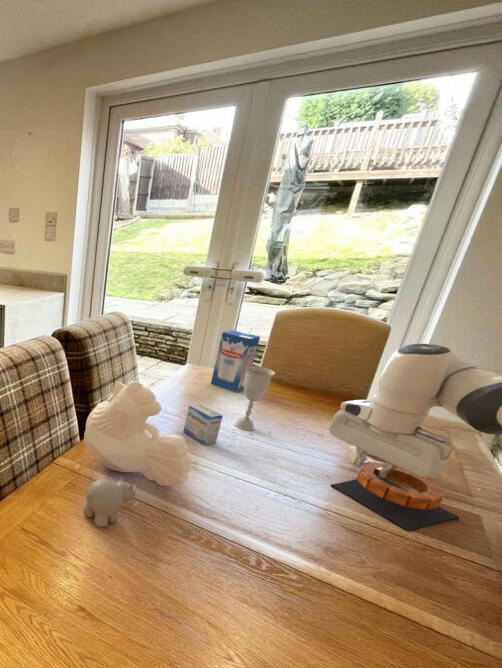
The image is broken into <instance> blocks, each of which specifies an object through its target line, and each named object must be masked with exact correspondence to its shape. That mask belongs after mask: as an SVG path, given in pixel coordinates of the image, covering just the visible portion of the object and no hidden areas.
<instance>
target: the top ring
mask: <svg viewBox="0 0 502 668" xmlns="http://www.w3.org/2000/svg"><path fill="white" fill-rule="evenodd" d="M383 463H384V462H382V463H376V462H374V463H373V462H371V463H366V464H363V465H361V468H360V467H359V470H358V472H357V476H356V479H358V481H359V482H360V483H361V485H362V486H363V487H364V488H367V490H369V491H370V492H372V493H374V494H376V495H377V496H379V497H381V498H384V497H385V499H386V500H388V501H391V502H394V503H397V504H400V505H403V506H404V505H406V506H407V507H411V508H418V509H427V510H428V509H433V508H437V507H438V506H439V507H440V504H441V502H443V499H444V490H443V489H442V488H441V487H440V486H439V485H438V484H437V483H435V482H434V481H433V480H430V479H422V478H420V477H418V476H416V475H414V474H412V473H410V472H408V471H406V470H404V469H401V468H399V467H397V468H395V469H393V470H391V471H388V473H387V476H386V477H385V478H384V479H390V480H393V481H395V482H399V483H401V484H404V485H407V486H408V487H410V488H412V489H414V490H416V491H410V490H408V491H406V490H407V489H406V490H403V489H400V488H397V487H394V486H392V485H390V484H388V483H386V482H384V481H382V480H380V479H379V478H378V476H376V475H375V474H374V472H375V469H376V468H380V467H382V468H385V467H387V466H386V465H384V464H383Z"/></svg>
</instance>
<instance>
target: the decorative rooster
mask: <svg viewBox="0 0 502 668" xmlns="http://www.w3.org/2000/svg"><path fill="white" fill-rule="evenodd" d="M156 398H157V396H156V395H155V393H154V392H153V391H152V390H151V389H150V388H149V387H147V386H144V384H142V383H141V382H140V381H137V380H132V381H130V382H128V384H124V383H122V382H120V381H115V383H114V386H113V392H112V394H111V395H109V396H108V398H107V399H106V400H104V401H102V402H98V403H97V405H96V406H95V407H94V408H93V409H92V411H90V413H89V414H88V416H87V419H86V423H85V431H84V434H83V441H84V445H85V447H86V449H87V450H88V452H89V453H90V455H91V456H92V457H93V458H94V460H95V461H96V462H98V463H99V464H100V465H102V466H103V467H104V468H105V467H106V468H107V469H110V470H112V471H116V472H123V473H140V474H141V475H142V476H143V477H145V478H146V479H147V480H149V481H152V482H153V481H155V483H156V484H158V485H159V486H162V487H165V486H166V487H167V486H168V487H169V486H177V485H182V484H184V483H186V482H187V479H188V478H189V475H188V474H189V472H190V471H191V467H192V460H191V457H190V455H189V451H190V449H189V448H190V447H189V445H188V444H187V440H186V439H185V438H184V437H183V436H182V435H180V434H167V435H166V434H165V435H160V431H159V429H158V427H157V426H156V425H155V424H153V423H151V422H147V421H148V419H149V417H154V416H158V415H159V414H160V413H161V411H162V406H161V404H160V402H159V401H158V400H157V399H156Z"/></svg>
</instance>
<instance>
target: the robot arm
mask: <svg viewBox="0 0 502 668" xmlns="http://www.w3.org/2000/svg"><path fill="white" fill-rule="evenodd" d="M434 407H438V408H443V409H444V410H445V411H447V412H450V413H451V414H453V415H455V416H456V417H458V418H459V419H461V420H462V421H463V422H464V423H465V424H467V425H469V426H470V427H471V428H472V429H474V430H475V431H477V432H480V433H483V434H488V435H494V436H495V435H496V436H497V435H498V436H501V435H502V375H501V374H498V373H495V372H494V371H492V370H490V369H487V368H485V367H482V366H479V365H477V364H474V363H472V362H469V361H467V360H465V359H463V358H461V357H459V356H458V355H456V354H455V353H453V351H452V350H451V349H450V348H448V347H446V346H443V345H439V344H435V343H433V344H432V343H410V344H405V345H403V346H400V347H398V348H397V349H396V350H395V351H394V352H393V353H392V355H391V356H390V357H389V359H388V361H387V363H386V365H385V366H384V368H383V370H382V373H381V375H380V377H379V380H378V389H377V391H376V393H375V394H374V395H372V397H371V399H353V400H347V401H343V402H341V404H340V410H338V411H337V412H336V413H335V414H334V416H333V417H332V420H331V421H330V424H329V426H328V432H329V434H330V435H331V436H332V437H334V438H337V439H339V440H341V441H342V442H345V443H346V444H349V445H350V446H351V445H353V446H355V447H357V448H356V455H357V458H358V462H357V464H355V466H356V467H358V468H359V469H360V468H361V465H363V464H366V463H371V462H370V461H368V460H367V457H368V456H367V455H366V453H370V454H372V455H374V456H373V457H377V458H379V459H381V460H383V461H384V463H385V464H384V465H386V466H387V467H385V468H382V467H380V468H376V469H375V472H374V474H375V475H376V476H378V477H379V478H384V479H386V478H385V477H386V476H387V473H388V471H391V470H393V469H395V468H397V467H399V468H401V469H404V470H406V471H408V472H410V473H412V474H414V475H416V476H418V477H420V478H422V479H429V480H431V479H437V478H440V477H441V476H442V475H443V473H444V470H445V468H446V465H447V461H448V459H449V458H450V457H451V455H452V454H453V451H454V445H453V444H452V443H451V442H450V441H449V440H448V438H447V437H445V436H442V435H440V434H436V433H434V432H432V431H429V430H427V429H425V428H423V425H424V424H425V421H426V420H427V417H428V415H429V413H430V410H431V409H432V408H434ZM366 456H367V457H366Z"/></svg>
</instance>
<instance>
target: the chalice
mask: <svg viewBox="0 0 502 668" xmlns="http://www.w3.org/2000/svg"><path fill="white" fill-rule="evenodd" d="M246 371H247V372H246V376H245V380H244V390H243V391H244V394H245V397H246V399H247V400H249V401H248V404H246V406H247V408H246V410H245V416H243V417H240V418H239V419H238V420H237V421H236V422H234V426H235V425H236V426H237V428H238V429H240V428H241V430H242V431H249V432H250V431H254V430H255V425H254V421H253V420H252V419H251V418H250V416H251V414H253V412H252V409H253V408H254V402H257V401H259V400H260V399H261V398H262V397H263V396H264V395H265V394H266V393H267V392H268V390H269V388H270V384H271V381H272V378H273V377H274V375H275V374H276V372H275V371H274V370H272V369H270V368H266V367H263V366H256V365H252V366H247V367H246ZM236 426H235V427H236Z"/></svg>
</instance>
